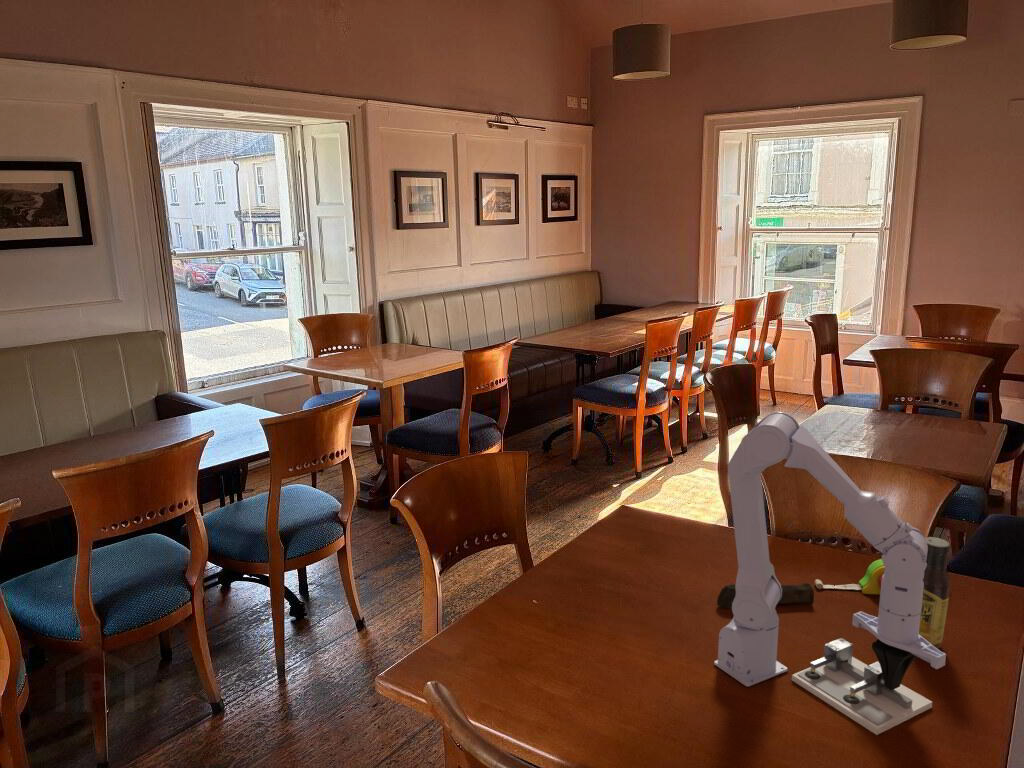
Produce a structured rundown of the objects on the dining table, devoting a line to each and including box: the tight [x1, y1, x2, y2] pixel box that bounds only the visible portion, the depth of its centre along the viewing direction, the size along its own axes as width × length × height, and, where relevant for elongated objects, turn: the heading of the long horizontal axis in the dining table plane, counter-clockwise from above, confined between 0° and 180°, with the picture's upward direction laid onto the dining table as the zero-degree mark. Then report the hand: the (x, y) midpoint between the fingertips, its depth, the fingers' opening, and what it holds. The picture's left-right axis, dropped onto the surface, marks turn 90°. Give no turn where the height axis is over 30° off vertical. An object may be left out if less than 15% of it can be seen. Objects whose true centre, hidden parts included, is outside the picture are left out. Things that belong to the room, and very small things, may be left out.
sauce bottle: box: [919, 536, 952, 650], centre depth 137 cm, size 7×6×20 cm
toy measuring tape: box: [814, 558, 885, 596], centre depth 158 cm, size 6×20×7 cm, turn 81°
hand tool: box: [716, 582, 815, 609], centre depth 154 cm, size 19×4×5 cm, turn 93°
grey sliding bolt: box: [850, 660, 884, 699], centre depth 123 cm, size 8×2×4 cm, turn 119°
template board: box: [791, 656, 933, 736], centre depth 125 cm, size 13×16×2 cm
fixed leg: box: [809, 637, 854, 674], centre depth 130 cm, size 8×2×4 cm, turn 119°
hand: (892, 686), depth 122 cm, fingers closed
